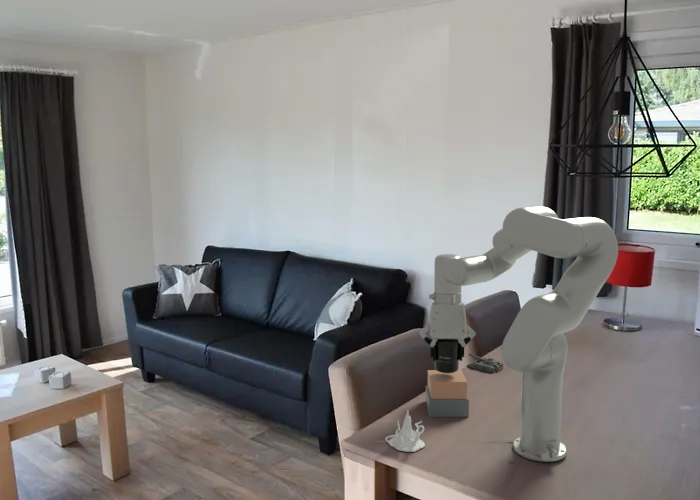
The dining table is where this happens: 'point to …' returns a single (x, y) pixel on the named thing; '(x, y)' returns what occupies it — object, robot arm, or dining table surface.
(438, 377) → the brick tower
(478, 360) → the tank toy
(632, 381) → the dining table surface
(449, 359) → the supplement bottle
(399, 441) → the tentacle sculpture
